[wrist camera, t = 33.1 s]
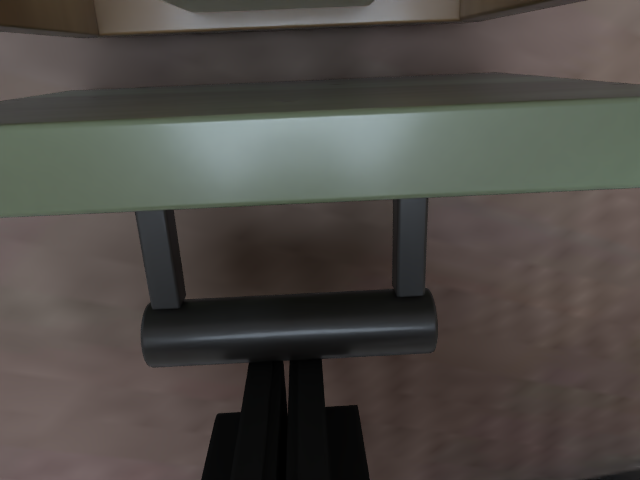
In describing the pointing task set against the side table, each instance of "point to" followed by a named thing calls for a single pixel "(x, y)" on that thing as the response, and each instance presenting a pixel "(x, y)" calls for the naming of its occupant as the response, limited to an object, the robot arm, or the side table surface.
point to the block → (260, 4)
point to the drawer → (299, 163)
